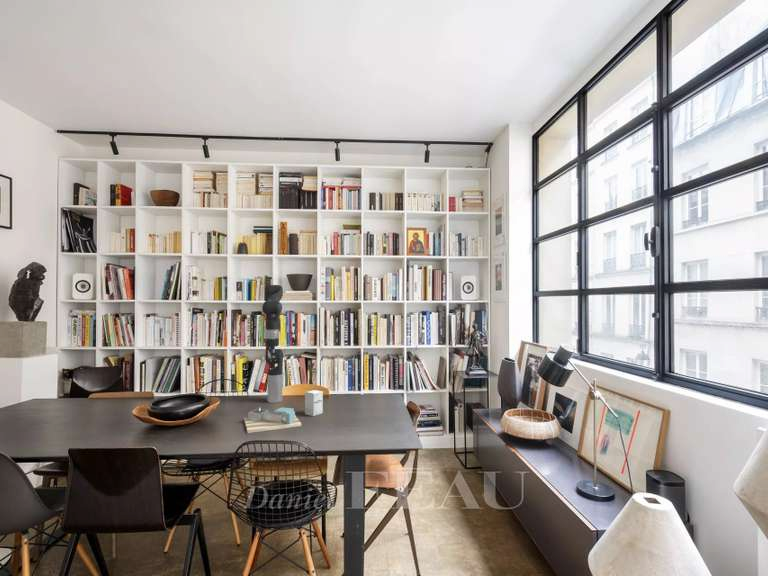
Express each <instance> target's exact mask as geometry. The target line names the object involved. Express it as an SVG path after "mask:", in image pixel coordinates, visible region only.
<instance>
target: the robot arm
mask: <svg viewBox="0 0 768 576" xmlns="http://www.w3.org/2000/svg"><path fill="white" fill-rule="evenodd" d="M283 290H284V289H283V286H282V285H280V284H266V285H265V286H264V302H263V304H262V305H261V306H262V307H261V310H262V313H263V314H265V331H264V332H265V333H264V346H265V354H264V357H265V363H266V364H268V366H270V369H268V370H267V399H266V400H267V401H266V402H267V403H270V404H275V403H280V402H281V403H282V401H283V364H284V350H282V348H281V349H276V347H278V346H280V331H281V318H280V316H281V313H282V310H283V304H282V303H281V302H280V301H281V300H282V298H283V294H284V291H283Z"/></svg>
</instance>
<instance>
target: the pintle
mask: <svg viewBox="0 0 768 576" xmlns="http://www.w3.org/2000/svg"><path fill="white" fill-rule="evenodd" d="M256 409H257V413H261V409H262V407H261V406H257V407H256Z"/></svg>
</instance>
